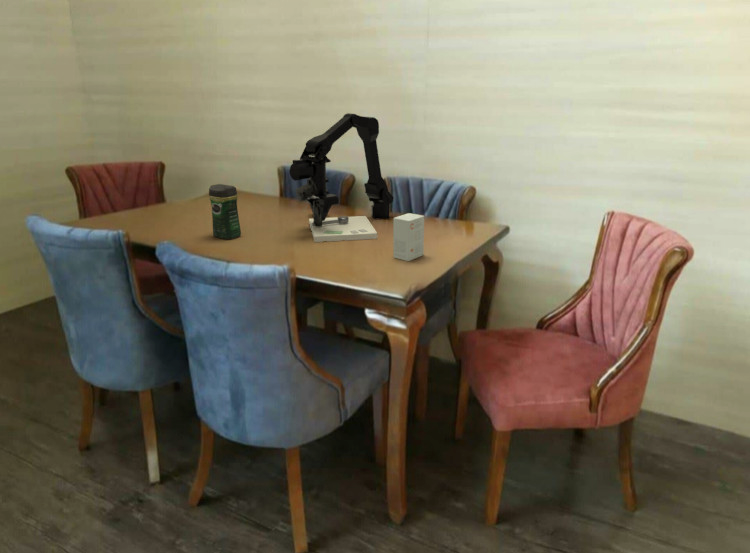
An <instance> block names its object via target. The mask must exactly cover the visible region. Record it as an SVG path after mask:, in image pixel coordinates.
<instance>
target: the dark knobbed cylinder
mask: <svg viewBox="0 0 750 553" xmlns="http://www.w3.org/2000/svg"><path fill="white" fill-rule="evenodd" d="M316 203H320V202H319V200H313V212H312V215H313V218H312V219H313V222H314V223H312V226H322V225H326V224H334V223H348V222H349V217H350V216H345V215H341V216H338V219H337V220H330V221H322V220H321V215H320V207H319V206H318V205H317V204H316Z"/></svg>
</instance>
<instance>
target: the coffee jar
mask: <svg viewBox="0 0 750 553" xmlns="http://www.w3.org/2000/svg"><path fill="white" fill-rule="evenodd" d="M208 196H209V198H208V199H209V201H210V206H211V216H212V235H213V236H214V237H215V238H217V239H224V240H228V239H237V238H238V237H240V236H241V235H242V232H241V229H242V228H241V225H240V224H241V223H240V217H239V212H238V196H239V195H238V190H237V188H236V186H234V185H228V184H222V183H218V184H212V185H210V186H209V189H208ZM236 237H237V238H236Z"/></svg>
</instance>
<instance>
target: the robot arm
mask: <svg viewBox="0 0 750 553" xmlns="http://www.w3.org/2000/svg"><path fill="white" fill-rule="evenodd" d="M352 128H355V129H356V131H357V132H356V133H357V135H358V136H359V138H360V139H361V141H362V142H363V150H364V156H365V162H366V169H367V175H368V180H367V182H365V183H364V190H365V191H364V192H365V194H366V196H367V197H368V200H369V202H372V205H371V206H370V209H371V210H370V211H371V215H370V216H371V217H372V218H373V219H374V220H383V219H384V220H387V219H391V216H390V205H391V204H392V203H393V202H394V196H393V195H392V194H391V192H390V191H389V188H388V184H387V182H386V181H385V179H384V178H383V176H382V171H381V164H380V158H379V150H378V145H377V144H378V143H377V139H378V137H379V134H380V124H379V120H378V119H377V118H376V117H374V116H361V115H358V114H356V113H350V112H349V113H348V112H347V113H345V114H344V115H343V116H342V117H341V118H340V119H339V120H337V121H336V122H335V123H334V124H333V125H332V126H331V127H329V129H327V130H326V131H325V132H323V133H322V134H319V135H316V136H313V137H312V138H310V139H308V140H307V141H306V143H305V147H304V149H303V151H302V153H301V156H300V157H299V159H293V160H292V164H290V167H289V169H288V172H289V175H290V178H291V179H292V180H293V181H300V180H306V179H307V180H306V184H304V185H301V186H300V187H298V188H296V189H295V190H294V193H295V195H296V197H297V199H298V200H301V201H305V202H307V203H308V204H309V206H310V210H311V211H312V213H313V200H319V202H320V203H316V204H317V205H318V206H319V207H320V215H321V220H322V221H324V220H325V219H326V218H327V216H328V213H329V212H330V209H331V208H332V206H333V205H338V204H340V197H339V196H338V195H336V194H333V193H330V191H329V190H327V183H330V181H329V178H327V165H326V164H327V163H331V162H332V161H331V159H329V158H328V157H327V155H328V153H329V152H331V150H332V147H333V145H334V144H335V142H337V141H338V140H339V139H340V138H341V137H343V136H344V135H345V134H346V133H347V132H348V131H350V130H351V129H352Z"/></svg>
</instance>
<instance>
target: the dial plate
mask: <svg viewBox="0 0 750 553" xmlns="http://www.w3.org/2000/svg"><path fill="white" fill-rule="evenodd" d="M338 217H339V216H338ZM338 217H337V216H335V217H326V219H325V220H324V221H330V220H337V219H338ZM348 217H349V222H348V223H334V224H326V225H322V226H312V223H314V222H313V218H308V224H310V225H309V228H310V231H312V232H311V234H312V238H313V242H314V243H323V241H327V242H341V241H342V240H345V241H359V240H362V241H363V240H376V239H377V240H378V232H377V231H376V229H375V227H374V226H373V225H372V223H371V222H370V221H369V219H368V217H367V216H366V215H358V216H357V215H356V216H355V215H354V216H348Z"/></svg>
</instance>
